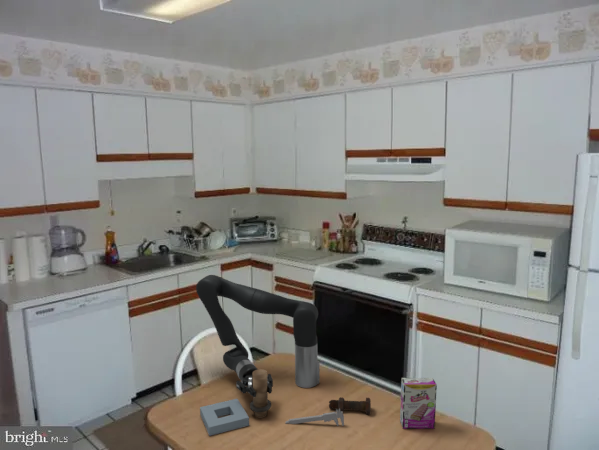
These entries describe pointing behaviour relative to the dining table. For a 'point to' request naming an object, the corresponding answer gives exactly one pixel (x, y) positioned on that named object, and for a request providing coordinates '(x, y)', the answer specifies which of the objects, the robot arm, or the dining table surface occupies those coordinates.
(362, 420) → the dining table surface
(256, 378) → the peg
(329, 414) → the caliper
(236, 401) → the board
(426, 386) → the candy bar box
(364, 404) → the bolt
